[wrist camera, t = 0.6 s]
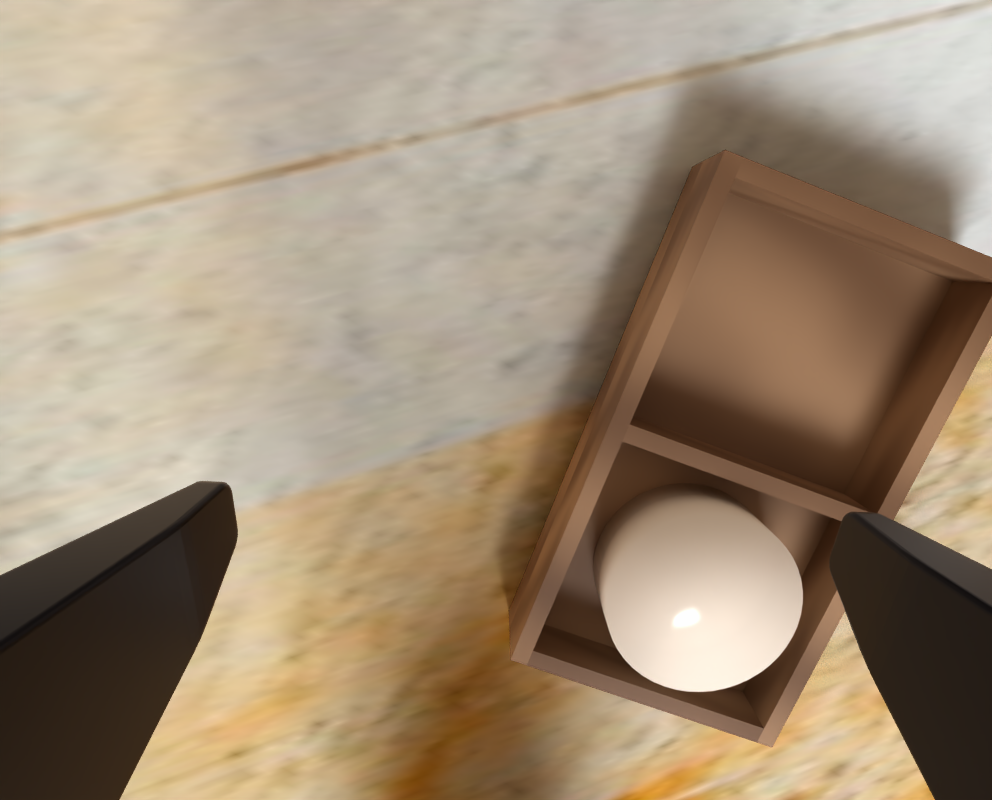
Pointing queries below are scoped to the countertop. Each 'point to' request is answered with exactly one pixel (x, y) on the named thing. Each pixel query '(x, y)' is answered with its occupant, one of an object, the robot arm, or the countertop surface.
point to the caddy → (759, 410)
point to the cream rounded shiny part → (695, 588)
